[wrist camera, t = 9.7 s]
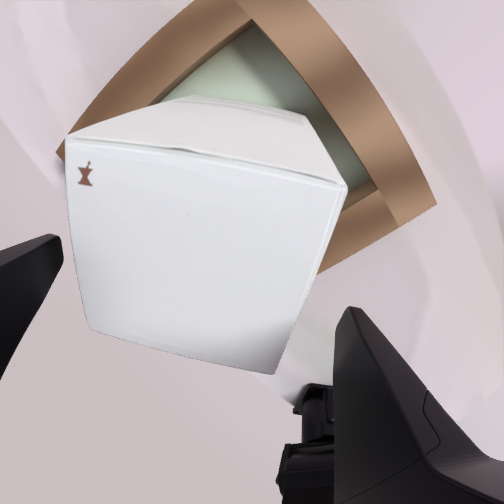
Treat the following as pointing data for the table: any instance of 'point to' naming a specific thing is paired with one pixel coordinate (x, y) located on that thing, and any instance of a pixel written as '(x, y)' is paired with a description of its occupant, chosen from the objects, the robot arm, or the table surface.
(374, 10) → the table surface
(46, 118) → the table surface
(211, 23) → the pocket board
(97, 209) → the supplement box
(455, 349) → the table surface
